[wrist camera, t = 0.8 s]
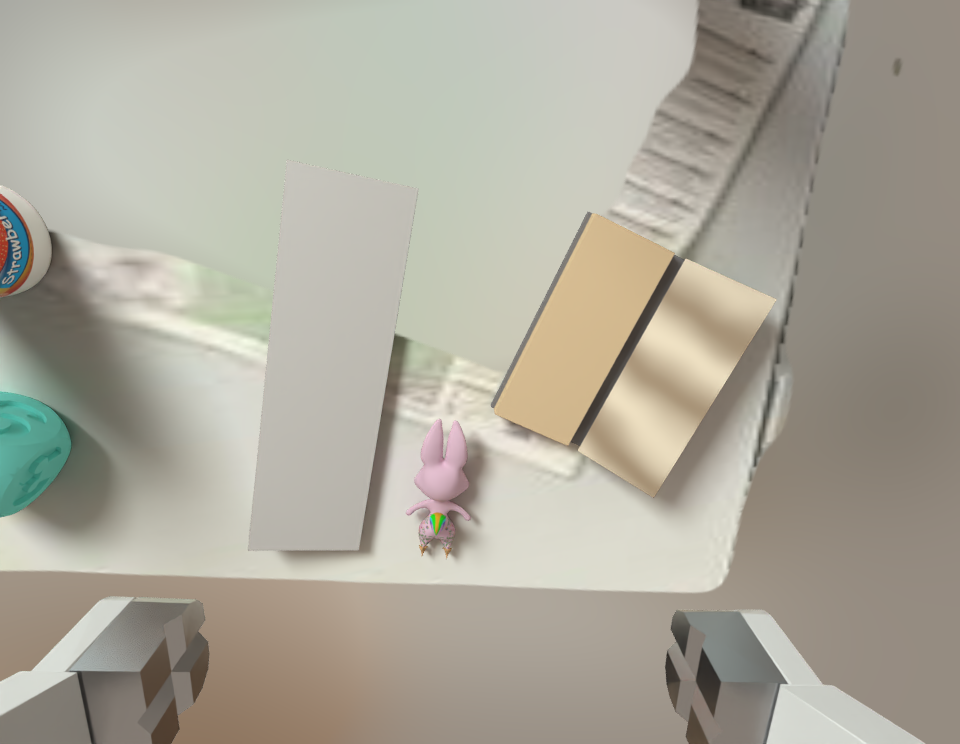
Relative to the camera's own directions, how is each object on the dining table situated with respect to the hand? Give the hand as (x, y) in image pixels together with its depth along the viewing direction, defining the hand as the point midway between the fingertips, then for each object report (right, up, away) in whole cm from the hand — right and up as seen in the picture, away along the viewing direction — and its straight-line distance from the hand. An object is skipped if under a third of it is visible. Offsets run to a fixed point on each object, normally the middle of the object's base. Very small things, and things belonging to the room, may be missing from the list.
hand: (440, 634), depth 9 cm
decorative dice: (-42, -1, +42) cm, 59 cm away
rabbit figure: (-3, -6, +44) cm, 44 cm away
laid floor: (+13, +6, +40) cm, 43 cm away
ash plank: (+17, +4, +38) cm, 42 cm away
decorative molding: (-13, +5, +41) cm, 43 cm away
